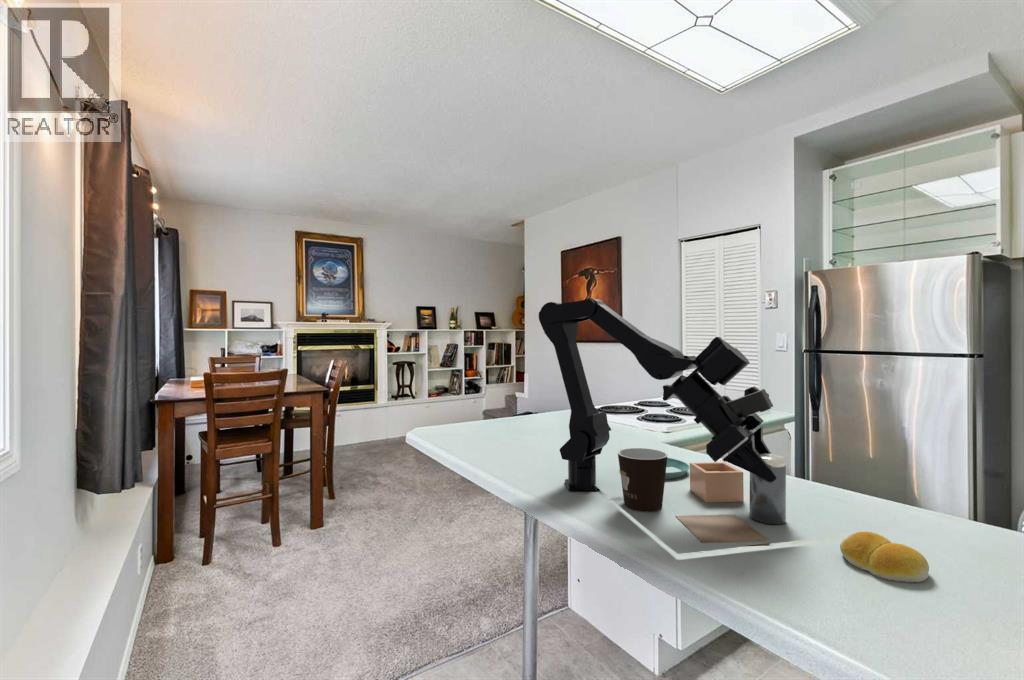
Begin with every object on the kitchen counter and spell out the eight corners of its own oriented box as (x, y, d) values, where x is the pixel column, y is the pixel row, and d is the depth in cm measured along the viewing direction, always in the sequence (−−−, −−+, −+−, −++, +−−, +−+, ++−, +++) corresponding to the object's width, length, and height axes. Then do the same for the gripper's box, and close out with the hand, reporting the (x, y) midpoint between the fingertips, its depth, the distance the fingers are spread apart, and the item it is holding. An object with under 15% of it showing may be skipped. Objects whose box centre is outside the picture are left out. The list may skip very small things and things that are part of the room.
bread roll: (905, 591, 55) (904, 558, 55) (830, 558, 63) (829, 530, 63) (946, 578, 58) (945, 546, 58) (869, 548, 66) (869, 521, 66)
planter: (690, 493, 91) (689, 462, 91) (725, 492, 91) (724, 462, 91) (705, 505, 84) (705, 472, 84) (743, 505, 84) (743, 472, 84)
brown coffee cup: (671, 519, 77) (670, 460, 77) (619, 516, 79) (618, 458, 79) (663, 496, 89) (662, 445, 89) (617, 494, 90) (616, 443, 90)
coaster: (675, 520, 77) (675, 515, 77) (734, 519, 77) (734, 514, 77) (701, 547, 67) (701, 541, 67) (769, 545, 67) (769, 540, 67)
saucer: (700, 484, 97) (700, 472, 97) (630, 485, 97) (630, 473, 97) (676, 465, 111) (675, 455, 111) (615, 466, 111) (615, 455, 111)
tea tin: (743, 512, 78) (743, 453, 78) (772, 511, 78) (773, 452, 78) (761, 524, 72) (761, 461, 72) (793, 523, 73) (793, 461, 73)
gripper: (727, 375, 70) (814, 458, 64) (749, 369, 85) (822, 435, 78) (675, 421, 75) (751, 503, 68) (705, 407, 90) (770, 473, 83)
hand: (776, 476), depth 74 cm, fingers closed on tea tin, 5 cm apart
